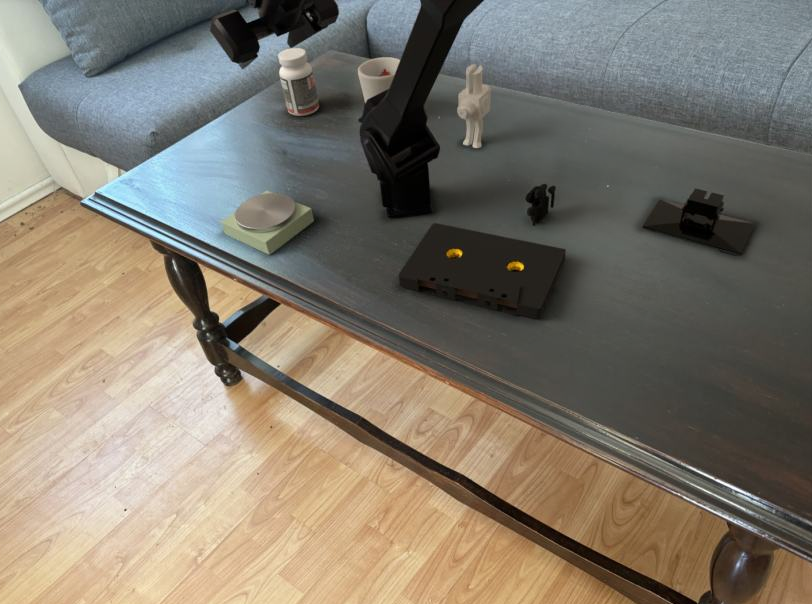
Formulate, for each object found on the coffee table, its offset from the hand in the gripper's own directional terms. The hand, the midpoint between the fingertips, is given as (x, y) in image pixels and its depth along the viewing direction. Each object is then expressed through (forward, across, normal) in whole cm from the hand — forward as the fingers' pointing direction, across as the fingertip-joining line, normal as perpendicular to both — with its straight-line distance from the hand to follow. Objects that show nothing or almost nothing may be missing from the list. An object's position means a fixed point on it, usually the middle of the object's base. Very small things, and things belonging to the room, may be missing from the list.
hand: (265, 55), depth 100 cm
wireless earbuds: (-19, -9, +44) cm, 49 cm away
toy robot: (-6, -19, +29) cm, 35 cm away
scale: (-1, +17, +23) cm, 29 cm away
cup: (+6, -18, +15) cm, 24 cm away
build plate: (-30, -20, +58) cm, 68 cm away
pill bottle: (+15, -8, +5) cm, 18 cm away
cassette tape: (-20, +5, +46) cm, 51 cm away
